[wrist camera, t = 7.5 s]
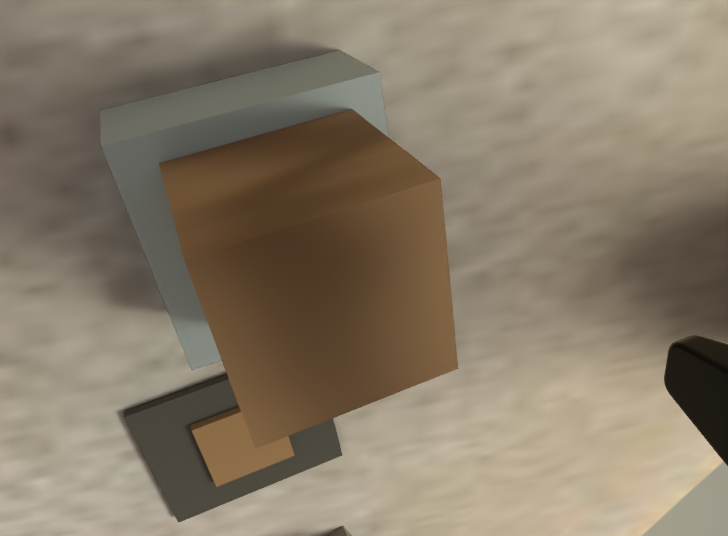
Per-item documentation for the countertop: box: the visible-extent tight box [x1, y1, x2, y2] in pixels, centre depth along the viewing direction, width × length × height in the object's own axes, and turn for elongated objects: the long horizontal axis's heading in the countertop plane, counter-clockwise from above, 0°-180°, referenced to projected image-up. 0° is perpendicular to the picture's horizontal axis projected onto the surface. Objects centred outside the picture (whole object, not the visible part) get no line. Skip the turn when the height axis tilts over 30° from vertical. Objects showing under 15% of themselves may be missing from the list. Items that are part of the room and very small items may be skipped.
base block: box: [100, 50, 389, 370], centre depth 18 cm, size 7×7×4 cm
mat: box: [124, 374, 342, 523], centre depth 24 cm, size 7×6×1 cm
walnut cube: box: [159, 109, 458, 449], centre depth 15 cm, size 5×5×5 cm
